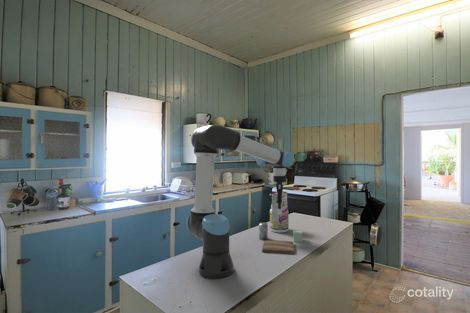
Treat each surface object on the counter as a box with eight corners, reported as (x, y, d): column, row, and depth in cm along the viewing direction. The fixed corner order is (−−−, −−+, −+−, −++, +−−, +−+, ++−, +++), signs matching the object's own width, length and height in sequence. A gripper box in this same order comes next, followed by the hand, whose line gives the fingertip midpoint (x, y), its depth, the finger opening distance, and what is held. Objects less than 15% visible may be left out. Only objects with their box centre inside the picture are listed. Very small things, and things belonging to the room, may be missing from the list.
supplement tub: (280, 234, 160) (279, 207, 160) (266, 230, 170) (265, 204, 169) (292, 230, 168) (292, 205, 168) (278, 226, 177) (278, 202, 177)
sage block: (302, 242, 146) (302, 233, 146) (293, 241, 147) (293, 233, 147) (301, 239, 151) (301, 230, 151) (293, 238, 152) (293, 230, 152)
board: (293, 254, 129) (293, 251, 129) (262, 252, 132) (262, 249, 132) (292, 244, 143) (292, 241, 143) (264, 242, 146) (264, 240, 146)
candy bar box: (280, 217, 157) (280, 191, 156) (287, 218, 154) (287, 191, 153) (271, 221, 148) (271, 193, 148) (279, 222, 145) (279, 194, 145)
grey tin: (267, 240, 150) (267, 225, 150) (258, 239, 151) (258, 224, 151) (267, 237, 155) (267, 222, 155) (259, 237, 156) (259, 222, 156)
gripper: (286, 177, 138) (286, 217, 138) (286, 173, 162) (286, 208, 162) (272, 176, 139) (272, 216, 139) (274, 173, 163) (274, 207, 163)
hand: (279, 212), depth 151 cm, fingers closed on candy bar box, 12 cm apart
